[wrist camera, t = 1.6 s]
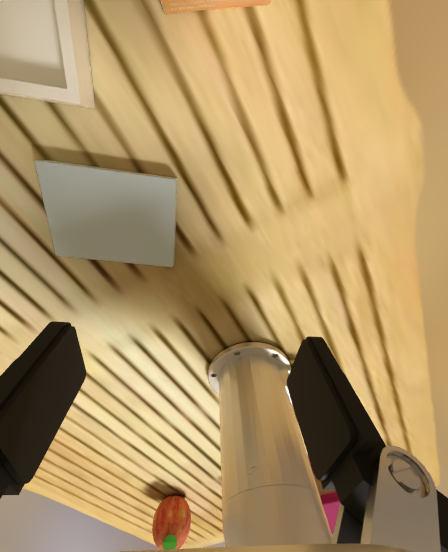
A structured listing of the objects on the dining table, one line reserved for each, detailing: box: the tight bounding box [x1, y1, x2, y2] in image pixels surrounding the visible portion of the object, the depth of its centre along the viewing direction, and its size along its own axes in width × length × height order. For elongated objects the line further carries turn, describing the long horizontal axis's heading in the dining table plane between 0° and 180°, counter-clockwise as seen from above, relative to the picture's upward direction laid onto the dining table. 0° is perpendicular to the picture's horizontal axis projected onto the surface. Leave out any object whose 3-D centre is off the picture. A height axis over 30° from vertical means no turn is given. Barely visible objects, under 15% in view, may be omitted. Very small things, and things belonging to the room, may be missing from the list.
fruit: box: [152, 496, 191, 550], centre depth 53 cm, size 9×10×10 cm
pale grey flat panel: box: [34, 160, 177, 267], centre depth 24 cm, size 12×9×2 cm
